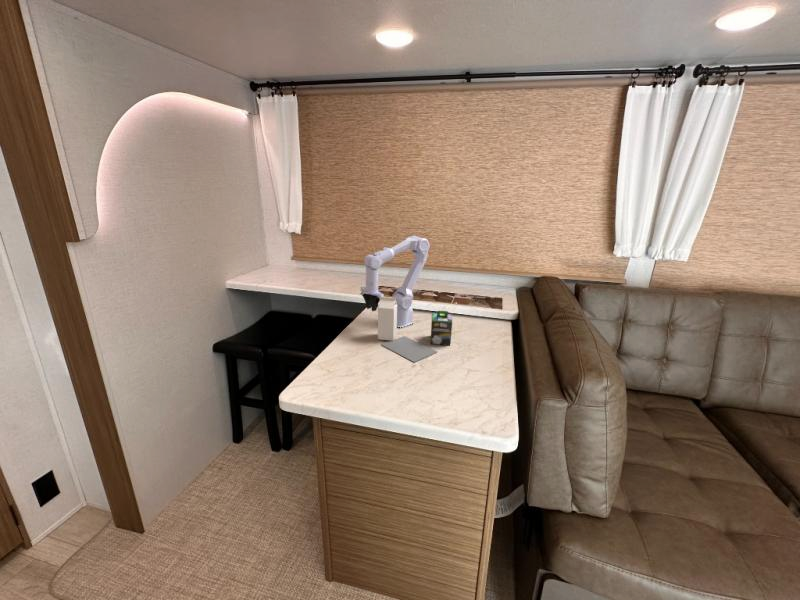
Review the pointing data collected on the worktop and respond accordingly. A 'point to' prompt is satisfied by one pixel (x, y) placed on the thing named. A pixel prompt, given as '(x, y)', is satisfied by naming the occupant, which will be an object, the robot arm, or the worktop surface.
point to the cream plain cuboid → (387, 318)
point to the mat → (409, 349)
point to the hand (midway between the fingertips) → (371, 309)
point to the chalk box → (441, 328)
